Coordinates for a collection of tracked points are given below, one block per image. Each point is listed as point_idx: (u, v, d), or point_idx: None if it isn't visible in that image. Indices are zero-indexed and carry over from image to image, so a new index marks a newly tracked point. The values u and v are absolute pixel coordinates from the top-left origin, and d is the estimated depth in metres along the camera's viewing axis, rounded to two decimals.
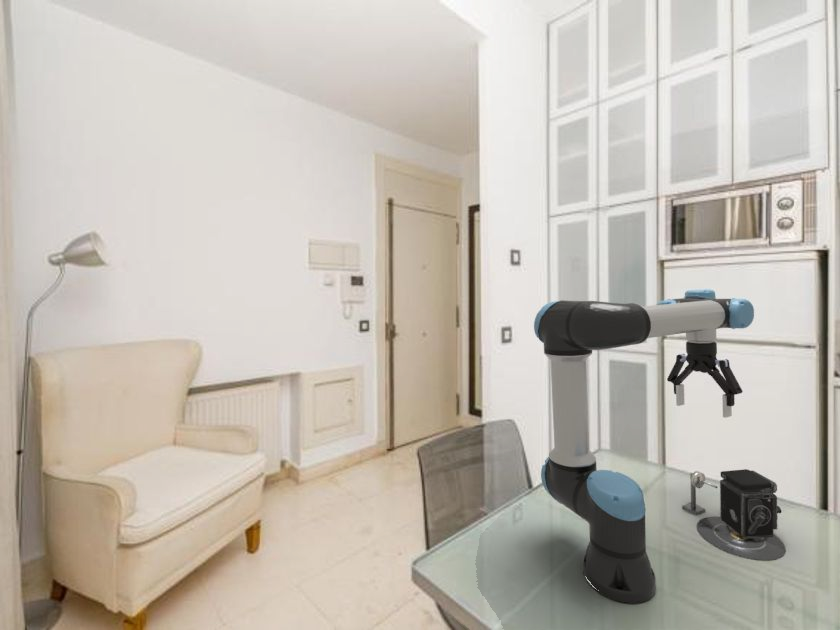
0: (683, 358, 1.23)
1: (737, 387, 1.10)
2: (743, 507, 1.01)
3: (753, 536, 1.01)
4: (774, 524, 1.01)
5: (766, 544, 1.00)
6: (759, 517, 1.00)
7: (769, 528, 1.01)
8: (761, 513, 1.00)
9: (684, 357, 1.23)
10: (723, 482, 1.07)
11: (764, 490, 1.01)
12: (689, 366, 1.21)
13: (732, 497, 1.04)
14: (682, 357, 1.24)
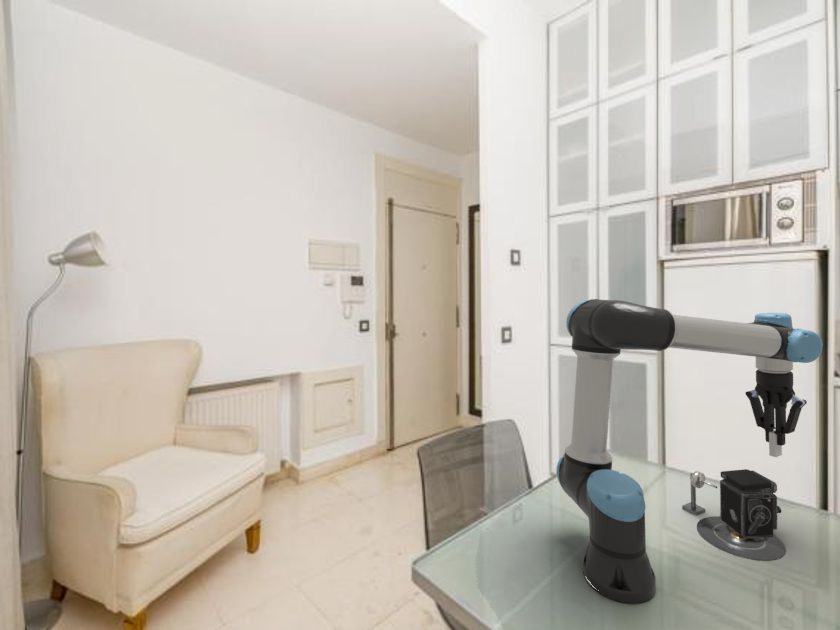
0: (754, 393, 1.11)
1: (792, 428, 1.04)
2: (743, 507, 1.01)
3: (753, 536, 1.01)
4: (774, 524, 1.01)
5: (766, 544, 1.00)
6: (759, 517, 1.00)
7: (769, 528, 1.01)
8: (761, 513, 1.00)
9: (754, 391, 1.11)
10: (723, 482, 1.07)
11: (764, 490, 1.01)
12: (765, 400, 1.08)
13: (732, 497, 1.04)
14: (752, 392, 1.11)
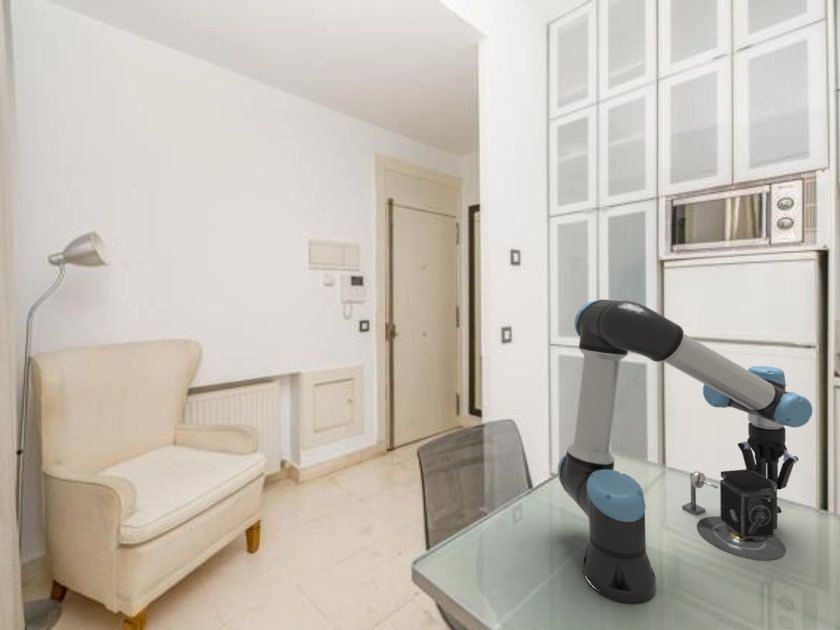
0: (746, 445, 1.11)
1: (784, 484, 1.04)
2: (743, 507, 1.01)
3: (753, 536, 1.01)
4: (774, 524, 1.01)
5: (766, 544, 1.00)
6: (759, 517, 1.00)
7: (769, 528, 1.01)
8: (761, 513, 1.00)
9: (746, 443, 1.11)
10: (723, 482, 1.07)
11: (764, 490, 1.01)
12: (757, 454, 1.07)
13: (732, 497, 1.04)
14: (744, 444, 1.11)
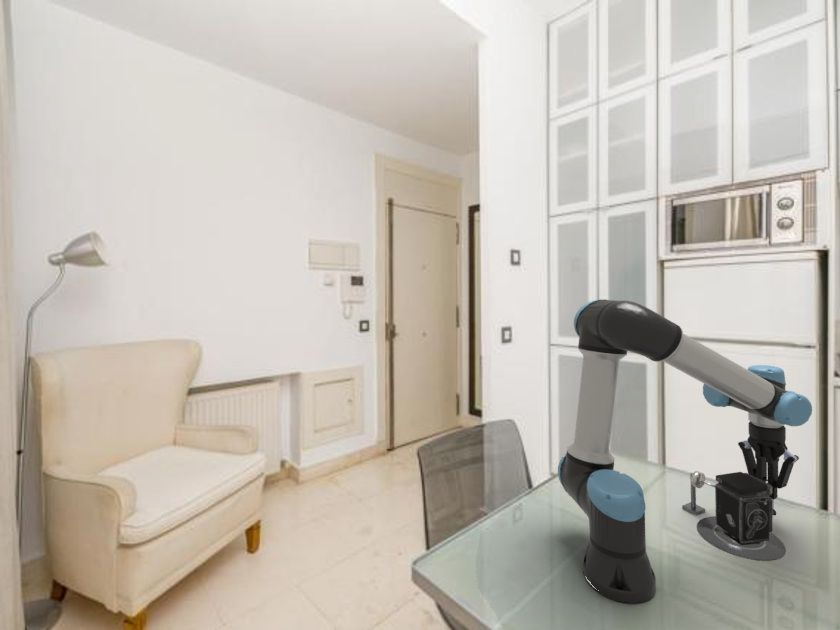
0: (746, 444, 1.11)
1: (784, 483, 1.03)
2: (741, 512, 0.99)
3: (751, 540, 1.00)
4: (770, 527, 1.00)
5: (766, 544, 1.00)
6: (757, 521, 0.98)
7: (765, 531, 1.00)
8: (758, 517, 0.99)
9: (746, 442, 1.11)
10: (719, 486, 1.05)
11: (761, 493, 0.99)
12: (757, 453, 1.07)
13: (728, 501, 1.02)
14: (745, 443, 1.11)
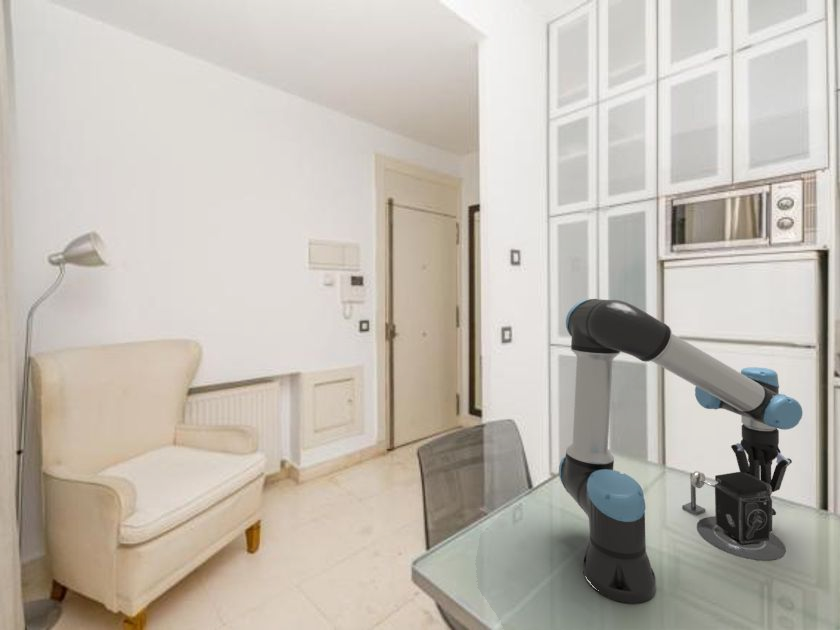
0: (739, 447, 1.10)
1: (777, 486, 1.03)
2: (741, 512, 0.99)
3: (751, 541, 1.00)
4: (769, 527, 1.00)
5: (766, 544, 1.00)
6: (756, 521, 0.98)
7: (765, 531, 1.00)
8: (758, 517, 0.99)
9: (739, 445, 1.10)
10: (718, 486, 1.05)
11: (760, 493, 0.99)
12: (750, 456, 1.06)
13: (728, 501, 1.02)
14: (738, 446, 1.10)
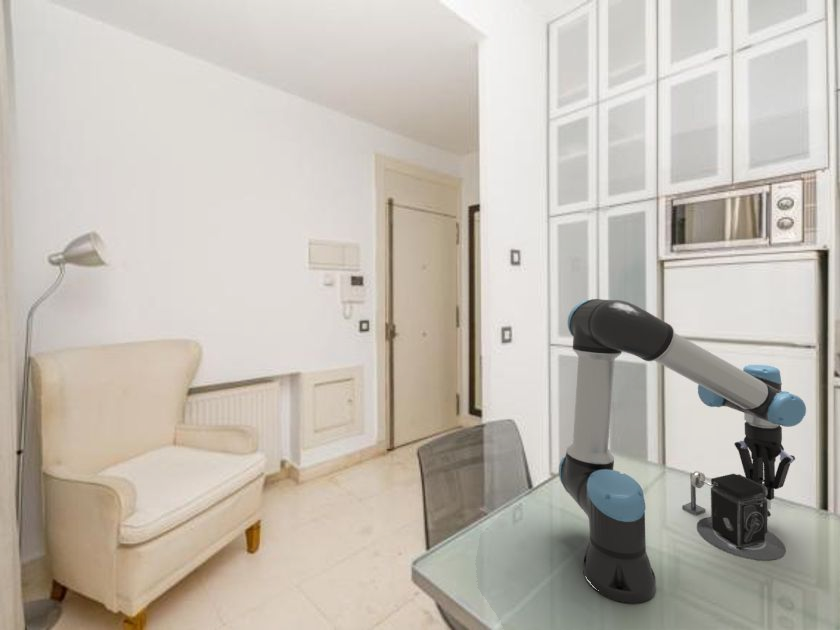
0: (743, 444, 1.10)
1: (781, 483, 1.03)
2: (740, 515, 0.98)
3: (748, 544, 0.99)
4: (765, 529, 1.00)
5: (766, 544, 1.00)
6: (754, 524, 0.97)
7: (761, 533, 0.99)
8: (756, 519, 0.98)
9: (743, 442, 1.10)
10: (714, 489, 1.04)
11: (757, 495, 0.98)
12: (753, 453, 1.07)
13: (726, 505, 1.01)
14: (741, 443, 1.10)
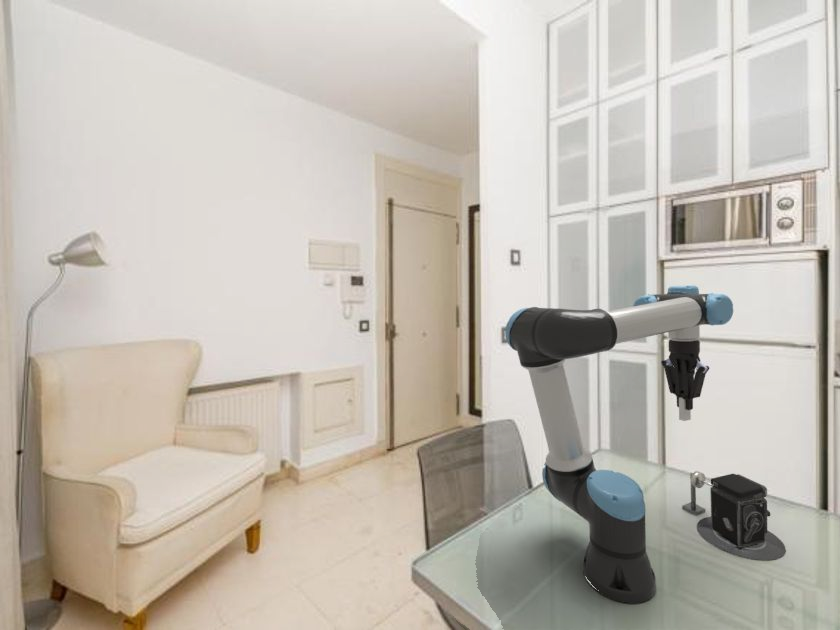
0: (668, 361, 1.18)
1: (697, 393, 1.11)
2: (739, 515, 0.98)
3: (748, 544, 0.99)
4: (765, 528, 1.00)
5: (766, 544, 1.00)
6: (754, 524, 0.97)
7: (761, 533, 0.99)
8: (755, 519, 0.98)
9: (668, 360, 1.18)
10: (714, 489, 1.04)
11: (757, 495, 0.98)
12: (675, 367, 1.15)
13: (725, 505, 1.01)
14: (667, 361, 1.19)
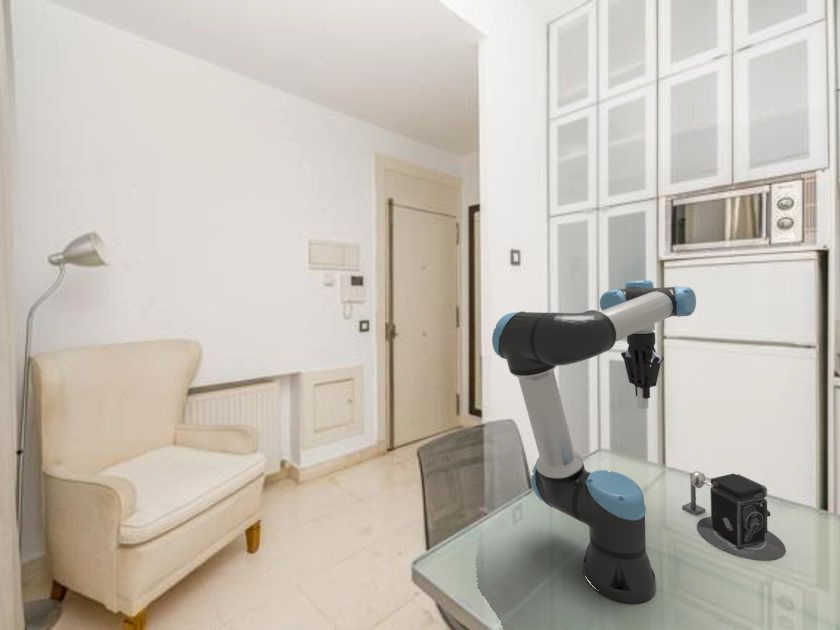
0: (627, 353, 1.24)
1: (653, 382, 1.17)
2: (739, 515, 0.98)
3: (748, 544, 0.99)
4: (765, 528, 1.00)
5: (766, 544, 1.00)
6: (754, 524, 0.97)
7: (761, 533, 0.99)
8: (755, 519, 0.98)
9: (627, 351, 1.24)
10: (714, 489, 1.04)
11: (757, 495, 0.98)
12: (633, 358, 1.21)
13: (725, 505, 1.01)
14: (626, 353, 1.25)
